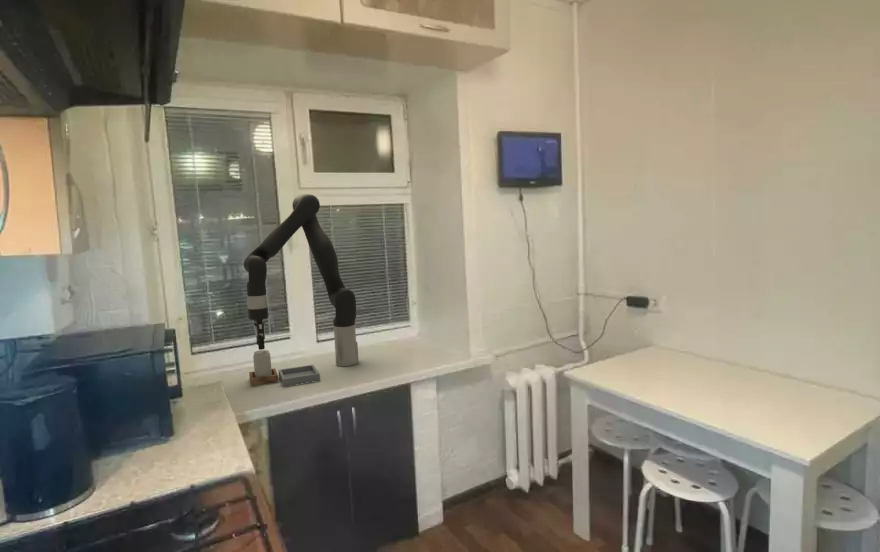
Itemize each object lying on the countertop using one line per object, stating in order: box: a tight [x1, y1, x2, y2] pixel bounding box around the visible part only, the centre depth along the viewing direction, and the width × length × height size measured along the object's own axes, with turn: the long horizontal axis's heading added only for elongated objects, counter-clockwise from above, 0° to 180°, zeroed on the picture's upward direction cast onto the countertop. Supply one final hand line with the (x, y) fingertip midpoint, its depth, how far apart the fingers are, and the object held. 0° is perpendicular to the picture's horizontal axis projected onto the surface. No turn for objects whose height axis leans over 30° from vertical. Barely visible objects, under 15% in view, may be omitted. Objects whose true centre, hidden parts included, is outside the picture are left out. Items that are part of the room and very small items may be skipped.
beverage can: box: [252, 349, 273, 378], centre depth 204 cm, size 6×6×12 cm
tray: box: [278, 364, 321, 388], centre depth 205 cm, size 14×14×3 cm
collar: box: [248, 367, 279, 387], centre depth 204 cm, size 10×10×3 cm
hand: (260, 346), depth 203 cm, fingers open, 8 cm apart
